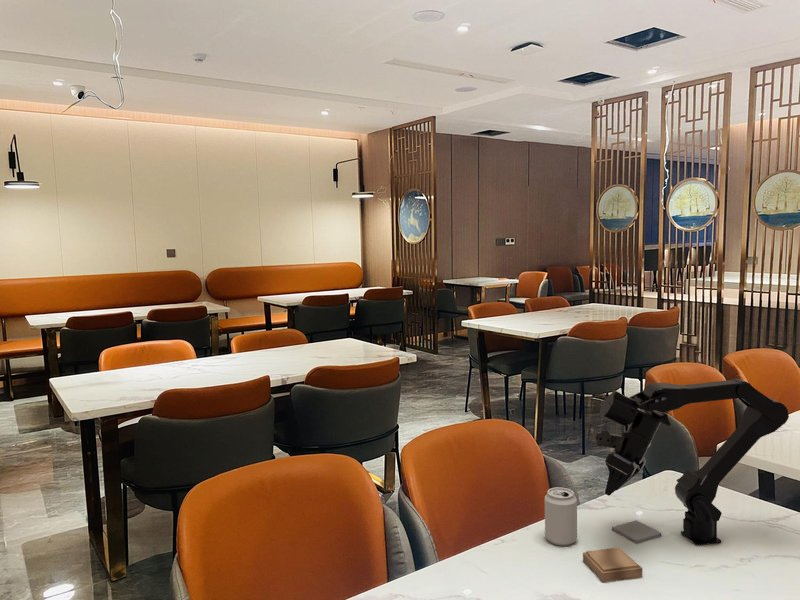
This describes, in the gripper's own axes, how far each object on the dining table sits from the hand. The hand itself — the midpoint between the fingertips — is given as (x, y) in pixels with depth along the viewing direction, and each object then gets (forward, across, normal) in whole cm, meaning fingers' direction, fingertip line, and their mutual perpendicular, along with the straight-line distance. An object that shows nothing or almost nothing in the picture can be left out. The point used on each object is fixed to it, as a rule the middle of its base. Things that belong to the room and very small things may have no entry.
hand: (610, 492), depth 146 cm
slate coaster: (+7, -8, +8) cm, 14 cm away
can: (+16, +2, -5) cm, 17 cm away
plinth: (+12, +11, +8) cm, 18 cm away
